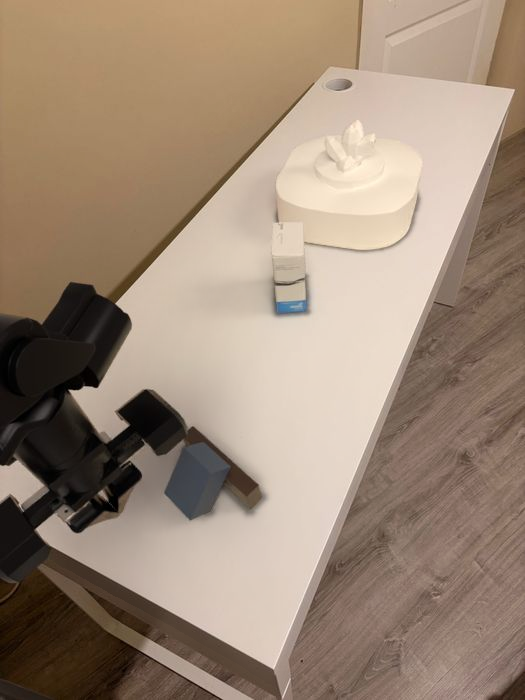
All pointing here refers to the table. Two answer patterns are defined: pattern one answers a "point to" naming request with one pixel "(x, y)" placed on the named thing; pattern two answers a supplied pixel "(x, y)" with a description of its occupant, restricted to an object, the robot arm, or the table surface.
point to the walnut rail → (230, 472)
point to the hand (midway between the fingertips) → (117, 511)
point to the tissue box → (350, 189)
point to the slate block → (196, 480)
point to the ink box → (289, 266)
